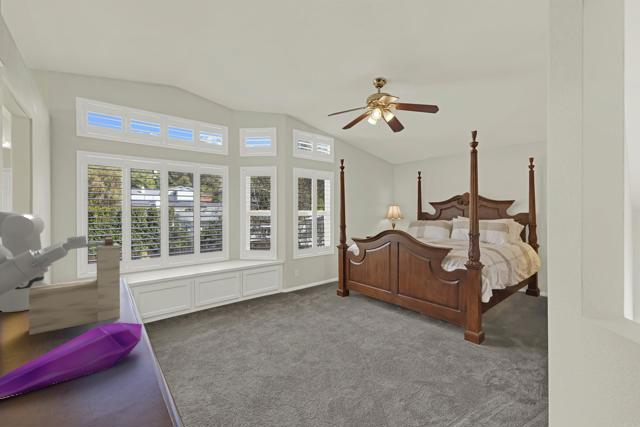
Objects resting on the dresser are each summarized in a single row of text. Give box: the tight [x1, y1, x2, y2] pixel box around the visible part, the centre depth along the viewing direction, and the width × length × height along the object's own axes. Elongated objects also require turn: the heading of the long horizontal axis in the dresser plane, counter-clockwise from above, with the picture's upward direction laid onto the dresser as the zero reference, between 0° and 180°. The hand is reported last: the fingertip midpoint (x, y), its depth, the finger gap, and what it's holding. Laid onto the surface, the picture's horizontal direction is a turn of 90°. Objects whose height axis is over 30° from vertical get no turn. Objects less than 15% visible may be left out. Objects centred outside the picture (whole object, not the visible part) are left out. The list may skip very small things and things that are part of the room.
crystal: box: [0, 321, 143, 398], centre depth 72 cm, size 9×15×30 cm
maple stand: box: [28, 236, 121, 335], centre depth 103 cm, size 8×24×30 cm, turn 130°
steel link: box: [66, 235, 115, 250], centre depth 105 cm, size 13×4×4 cm, turn 130°
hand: (80, 240), depth 103 cm, fingers closed on steel link, 4 cm apart
